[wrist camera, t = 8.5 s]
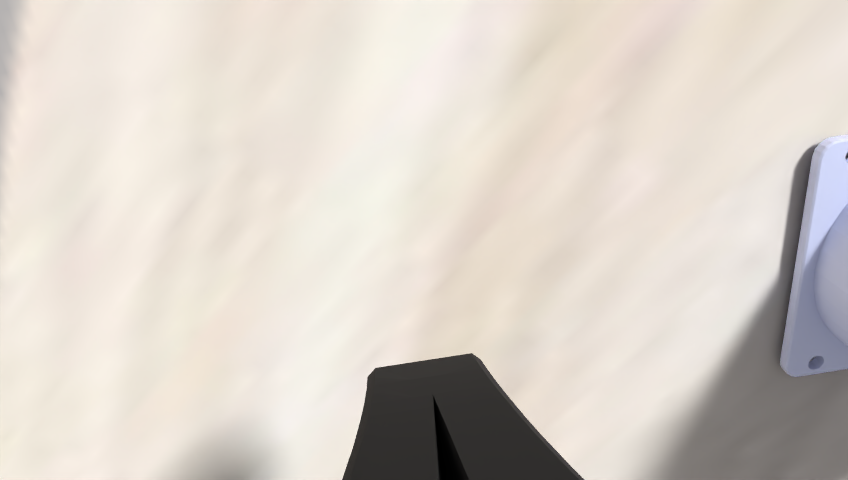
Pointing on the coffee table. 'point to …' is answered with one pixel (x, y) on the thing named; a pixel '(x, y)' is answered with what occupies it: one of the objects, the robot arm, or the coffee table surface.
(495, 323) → the coffee table surface
